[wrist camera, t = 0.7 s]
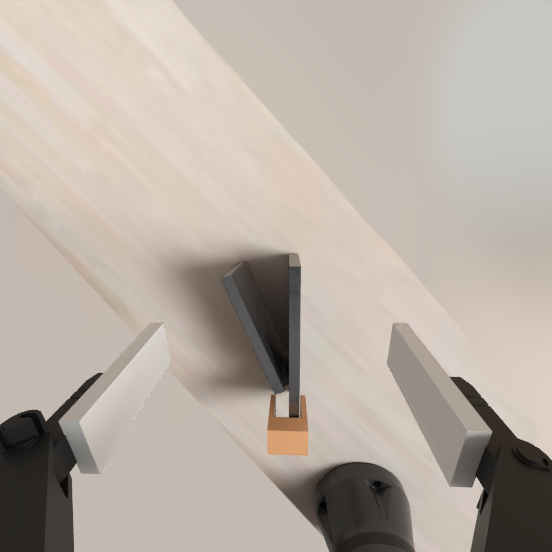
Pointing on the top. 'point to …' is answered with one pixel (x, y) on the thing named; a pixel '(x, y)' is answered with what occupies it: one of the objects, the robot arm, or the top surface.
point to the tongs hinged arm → (256, 324)
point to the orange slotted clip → (287, 431)
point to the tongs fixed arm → (294, 336)
